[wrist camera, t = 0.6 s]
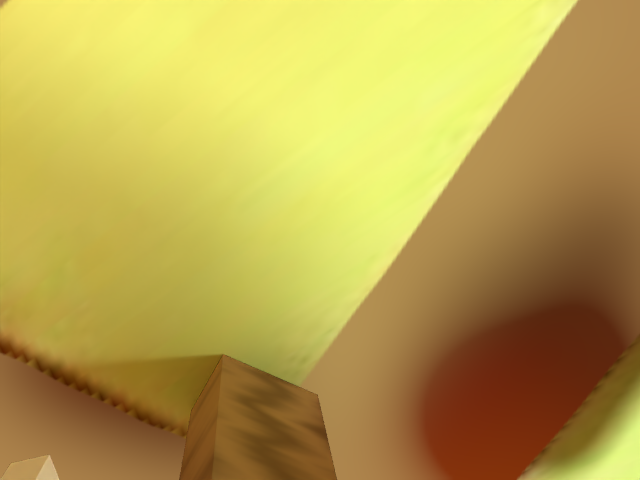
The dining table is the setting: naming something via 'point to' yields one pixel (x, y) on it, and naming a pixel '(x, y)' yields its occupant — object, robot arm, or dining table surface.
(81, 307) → the dining table surface
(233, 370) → the walnut stand
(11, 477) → the robot arm
